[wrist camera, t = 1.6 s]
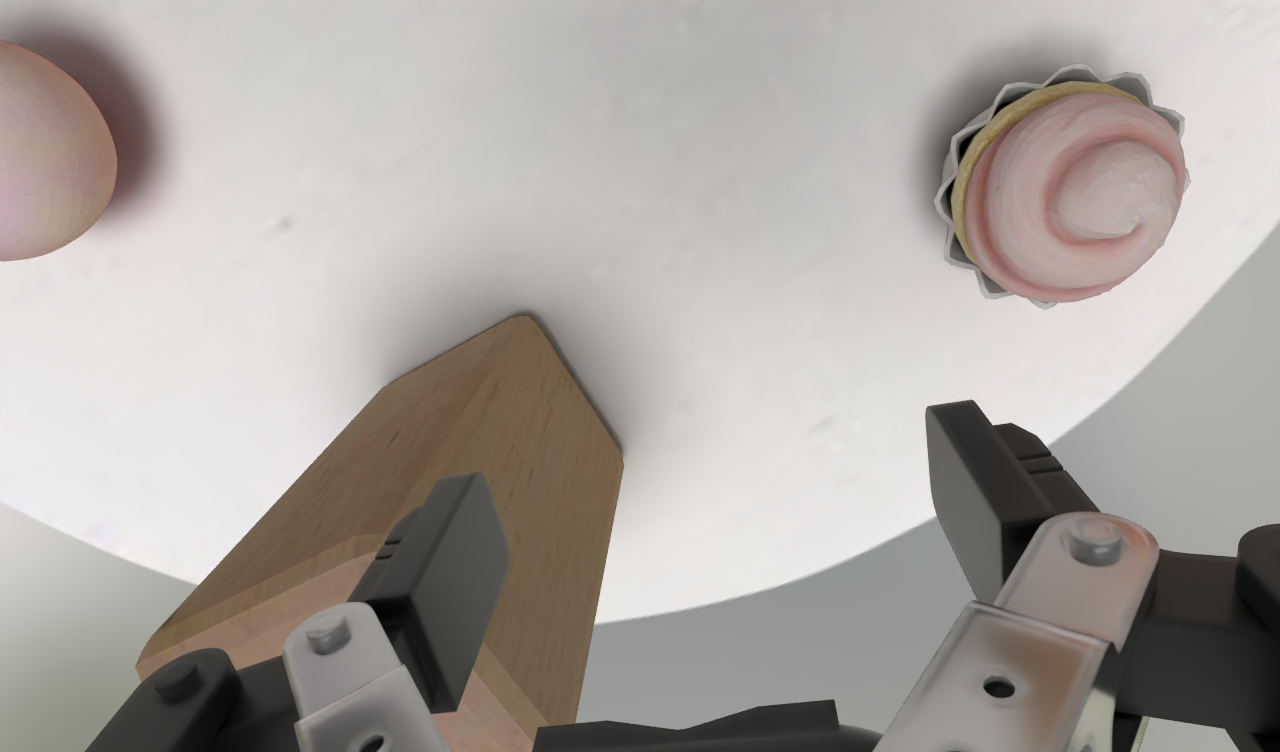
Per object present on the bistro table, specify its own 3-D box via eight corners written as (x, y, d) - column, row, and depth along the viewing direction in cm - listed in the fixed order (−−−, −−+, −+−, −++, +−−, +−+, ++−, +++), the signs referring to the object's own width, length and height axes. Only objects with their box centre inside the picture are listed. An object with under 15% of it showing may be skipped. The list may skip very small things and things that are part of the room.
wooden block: (374, 388, 41) (104, 672, 22) (531, 301, 38) (371, 543, 20) (481, 530, 44) (320, 881, 25) (633, 458, 41) (575, 793, 23)
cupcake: (900, 283, 36) (966, 365, 27) (909, 71, 33) (989, 83, 23) (1111, 269, 35) (1253, 350, 26) (1144, 48, 32) (1323, 52, 22)
